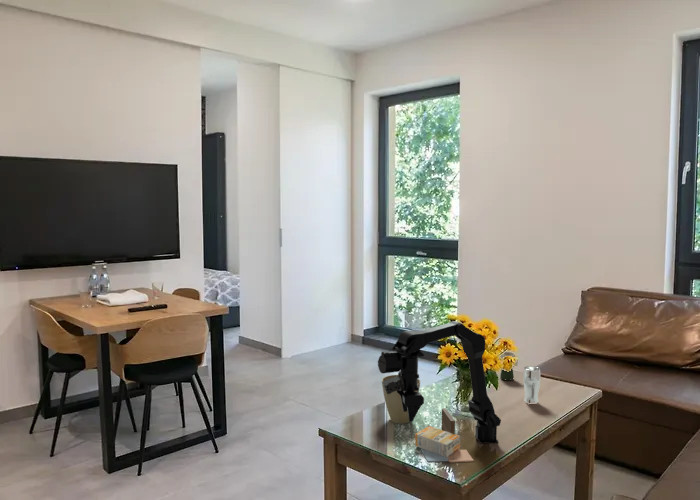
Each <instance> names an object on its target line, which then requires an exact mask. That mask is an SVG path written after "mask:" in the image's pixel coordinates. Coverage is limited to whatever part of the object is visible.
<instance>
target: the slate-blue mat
mask: <svg viewBox="0 0 700 500" xmlns="http://www.w3.org/2000/svg"><path fill="white" fill-rule="evenodd" d="M420 450H421V451H422V454H423V456H424V458H425V459H426V462H427V463H435V462H438V463H439V462H449V459H448V458H447V457H444V456H442V455H439V454H436V453H433V452H431V451H428V450H425V449H422V448H420ZM450 456H451V455H450ZM450 456H449V457H450ZM453 456H454V454H453ZM454 457H455V456H454ZM454 457H453V458H454Z"/></svg>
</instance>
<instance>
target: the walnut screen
mask: <svg viewBox="0 0 700 500" xmlns="http://www.w3.org/2000/svg"><path fill="white" fill-rule="evenodd" d="M441 430H443V431H446V432H449V433H452V434H455V435H456V420H455V418H454V417H453V416H452V415H451V413H450V412H449V411H448V409H447V408H441Z"/></svg>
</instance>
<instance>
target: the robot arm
mask: <svg viewBox="0 0 700 500" xmlns="http://www.w3.org/2000/svg"><path fill="white" fill-rule="evenodd" d="M451 337H456V338H457V339H458V340H459V341H460V344H461V347H463V350H464V352H465V353H466V355H467V357H468V361H469V369H470V376H471V383H472V388H471V389H472V397H471V400H469V399H468V400H467V404H468V412H470V414H471V416H472V417H473V420H475V421H476V425H475V427H474V428H475V431H474V434H475V435H474V437H475V438H476V439H477V441H478V442H479V444H495V443H496V444H497V443H499V440H498V439H497V432H498V431H497V429H498V428H497V427H499V426H500V425H501V423H502V419H501V418H500V417H499V416H498V415H497V414H496V413H495V412H496V411H495V408H494V405H493V402H492V400H491V399H490V398H489V396H488V395H489V394H488V391H487V382H486V376H485V368H484V360H483V356H484V354H485V352H486V339H485V336H484V335H482V334H481V333H478V332H475V331H473V330H471V329H470V328H468V327H467V326H465V325H464V324H463V323H461V322H458V321H455V320H454V321H453V320H452V321H450V322H447V323H444V324H441V325H436V326H434V327H430V328H426V329H423V330H422V329H421V330H419V329H418V330H417V329H416V330H414V329H412V330H410V329H409V330H404V331H402V332H400V335H399V336H398V338H397V341H396V342H395V344H394V345H393V346H392V348H391V351H381V352H380V355H379V357H378V360H377V368H378V370H379V372H380V373H381V374H390V373H397V375H398V376H397V377H393V378H390V379H388V380H385V381H383V385H384V388H385V391H386V393H387V394H391V393H392V392H394V391H397V392H398V394H399V395H400V397H401V401H402V406H403V411H404V412H407V410H408V418H409V422H408V423H413V422H414V421H415V420H414V419H415V418H416V416H417V414H418V412H419V410H420V409H421V407H422V406H423V405H424V404H425V398H424V395H423V394H422V393H421V392H420V387H418V386H417V382H418V379H420V374H419V370H418V369H419V358H420V357H422V358H423V357H425V353H423V352H422V351H421V349H423V348H425V347H426V346H427V344H430V343H434V342H436V341H439V340H445V339H446V338H451ZM415 391H419V392H415Z"/></svg>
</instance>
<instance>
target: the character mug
mask: <svg viewBox="0 0 700 500" xmlns="http://www.w3.org/2000/svg"><path fill="white" fill-rule="evenodd" d="M504 352H505V353H504V354H502V355H501V356H500V357H501V358H503V357H505V356H512V357H515V358H516V353H514V352H512V351H511V352H510V351H504ZM500 357H499V358H500ZM515 364H516V365H515V366H513V368H515V367H516V366H517V367H518V364H519V360H518V359H517V362H516V361H515ZM513 368H512V369H511V371H509V372H507V371H504V370H502V369H501V370H500V379H501V378H502V379H506V380H505V381H511V380H510V379H513V378H514V375H515V374H514V370H513ZM502 379H501V380H502ZM514 379H515V378H514Z"/></svg>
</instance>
